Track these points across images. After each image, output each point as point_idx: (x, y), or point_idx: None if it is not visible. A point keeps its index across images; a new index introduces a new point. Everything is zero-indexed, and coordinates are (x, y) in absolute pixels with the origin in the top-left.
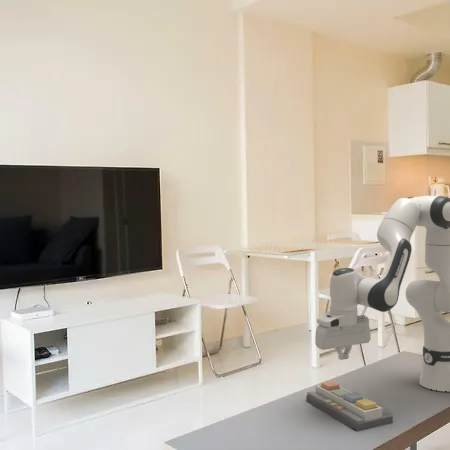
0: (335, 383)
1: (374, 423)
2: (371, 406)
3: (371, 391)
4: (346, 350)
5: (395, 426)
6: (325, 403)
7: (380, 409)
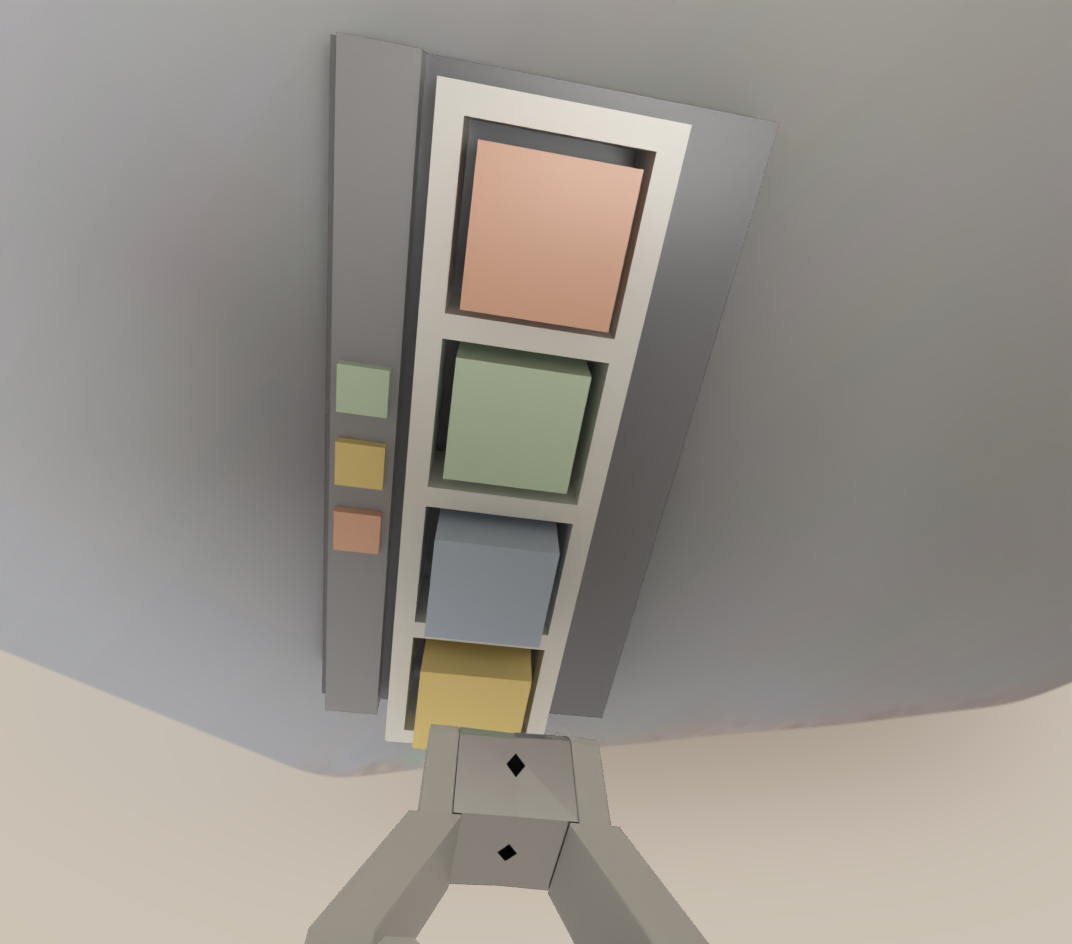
0: (601, 280)
1: None
2: None
3: (1033, 264)
4: (596, 916)
5: None
6: (332, 381)
7: None
